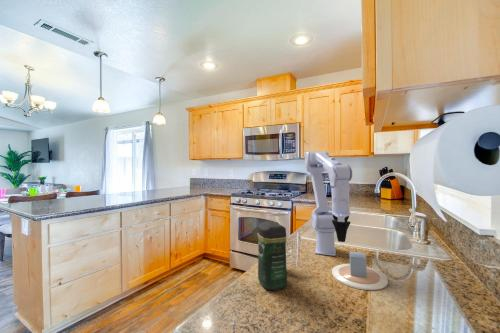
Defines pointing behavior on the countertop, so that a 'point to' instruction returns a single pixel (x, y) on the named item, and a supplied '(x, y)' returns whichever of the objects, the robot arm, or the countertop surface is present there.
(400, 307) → the countertop surface
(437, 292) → the countertop surface
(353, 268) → the block
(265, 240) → the coffee jar
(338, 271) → the plate
